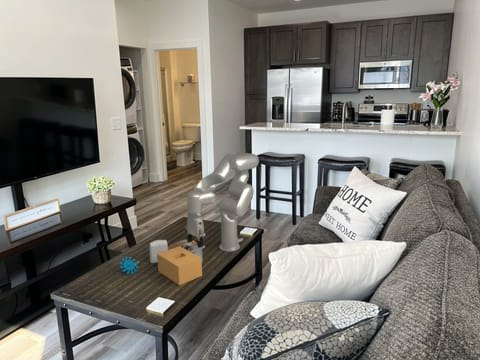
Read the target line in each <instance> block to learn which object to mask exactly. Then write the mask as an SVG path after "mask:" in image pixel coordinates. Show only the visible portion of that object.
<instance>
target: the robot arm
mask: <svg viewBox="0 0 480 360" xmlns="http://www.w3.org/2000/svg"><path fill="white" fill-rule="evenodd" d="M259 162H260V159H259V156H257V154H255V153H249V152H240V151H238V152H236V153H235V154H231V153H228V154H226V155H224V156H223V157H222V159H221V160H220V162H219V164H218V165H217V166H216V167H215V169H214V170H213V172H211V173H210V174H208V175H206V176H205V177H203V178H201V179H200V180H199V181H198V183H197V184H196V186H194V188H193V190H192V191H190V192H189V193H187V197H186V198H187V219H186V225H185V226H184V228H185V229H184V230H185V233H186V239H187V240H186V241H187V243H188V244H189V243H193V238H194V237H196V239H197V245H198V248H200V247H203V245H204V239H205V238H206V233H205V228H204V227H205V226H204V221H203V217H202V212H203V211H202V207H203V205H206V206H207V205H211V204H213V203H214V202H215V201H216V196H217V195H216V194H215V193H214V192H213V191H211V190H208V188H210V187H212V186H214V185H218V184H222V183H225V182H226V180H227V179H228V177H229V176H230V175H231V173H232V171H234V170H235V173H234V176H233V178H232V180H231V182H230V185H229V187H228V195H229V196H231V197H229V196H228V197H226V196H225V197H223V198H221V199H220V201H219V204H218V208H219V213H220V223H221V224H220V225H221V227H220V230H221V231H220V235H221V243H220V244H219V246H218V248H219V250H221V251H222V252H227V253H228V252H229V253H230V252H236V251H237V250H239V249H240V246H241V244H240V243H241V242H243V241H244V239H243V237H241V238H239V237H238V220H237V218H241V217H243V216H245V214H246V213H247V211H248V209H249V206H250V204H251V202H252V199H253V196H254V191H255V190H254V186H252V185H251V184H250V183H248V181H249V177H250V174H249V170H253V169H255V168H257V167H258V165H259ZM232 197H234V198H232ZM236 198H237V199H236Z"/></svg>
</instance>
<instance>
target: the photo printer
mask: <svg viewBox="0 0 480 360" xmlns="http://www.w3.org/2000/svg"><path fill="white" fill-rule="evenodd" d="M168 247H169V246H168V241H167V240H166V239H158V240H154V241H151V242H149V262H150V263H151V264H155V263H158V258H157V254H158V253H161V252H164V251H167V250H169V248H168Z"/></svg>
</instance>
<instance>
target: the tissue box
mask: <svg viewBox="0 0 480 360" xmlns="http://www.w3.org/2000/svg"><path fill="white" fill-rule="evenodd" d="M157 258H158V262H157V269H158V272H159V273H160V274H162V275H163V276H164V277H166V278H168V279H169V280H170V281H173V282H174V283H176V284H177V285H178V286H181V285H183V284H186V283H188V282H190V281H192V280H195V279H197V278H200V277H202V276H203V267H202V266H203V265H202V264H203V258H202V259H201V257H199V256H197V255H195V254H193V253H191V252H190V251H188V249H186V248H183V247H182V246H180V245H179V246H177V247H172V248H170V249H168V250H167V251H164V252H161V253H158V254H157Z"/></svg>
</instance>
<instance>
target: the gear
mask: <svg viewBox="0 0 480 360" xmlns="http://www.w3.org/2000/svg"><path fill="white" fill-rule="evenodd" d="M138 264H140V261H138V260H137V261H136V259H135V258H133V259H132V257H131V256H129V257H128V256H125V257H124V258H122V259H121V261H120V262H119V265H120V266H119V268H120V270H121V271H122V273H125V274H126V275H129V274H130V275H134V273H136V272H137V270H138V269H139V266H138Z"/></svg>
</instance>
